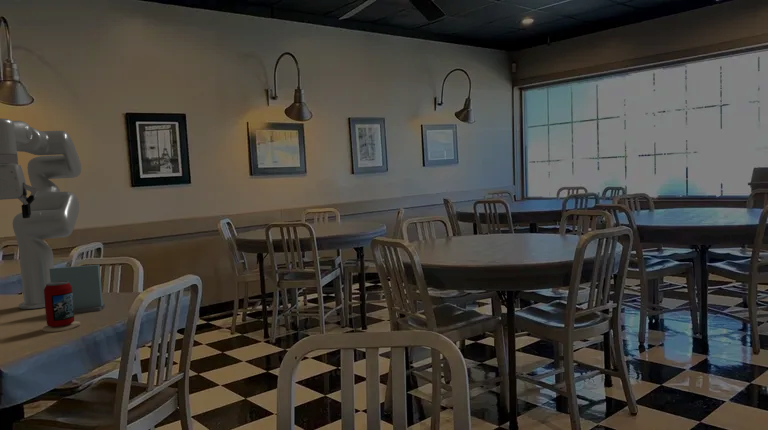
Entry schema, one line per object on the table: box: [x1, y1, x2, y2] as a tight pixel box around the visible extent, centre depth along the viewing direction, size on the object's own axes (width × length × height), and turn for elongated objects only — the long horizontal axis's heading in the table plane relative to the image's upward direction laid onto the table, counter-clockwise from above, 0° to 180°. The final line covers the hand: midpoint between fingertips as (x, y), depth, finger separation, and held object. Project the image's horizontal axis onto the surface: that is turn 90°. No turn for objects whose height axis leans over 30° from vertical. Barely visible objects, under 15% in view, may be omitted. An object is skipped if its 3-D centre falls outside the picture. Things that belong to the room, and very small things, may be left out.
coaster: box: [42, 320, 81, 333], centre depth 156 cm, size 9×9×1 cm
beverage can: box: [44, 281, 75, 328], centre depth 156 cm, size 7×7×12 cm
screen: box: [49, 264, 106, 314], centre depth 176 cm, size 5×14×14 cm, turn 99°
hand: (8, 219), depth 167 cm, fingers open, 9 cm apart
